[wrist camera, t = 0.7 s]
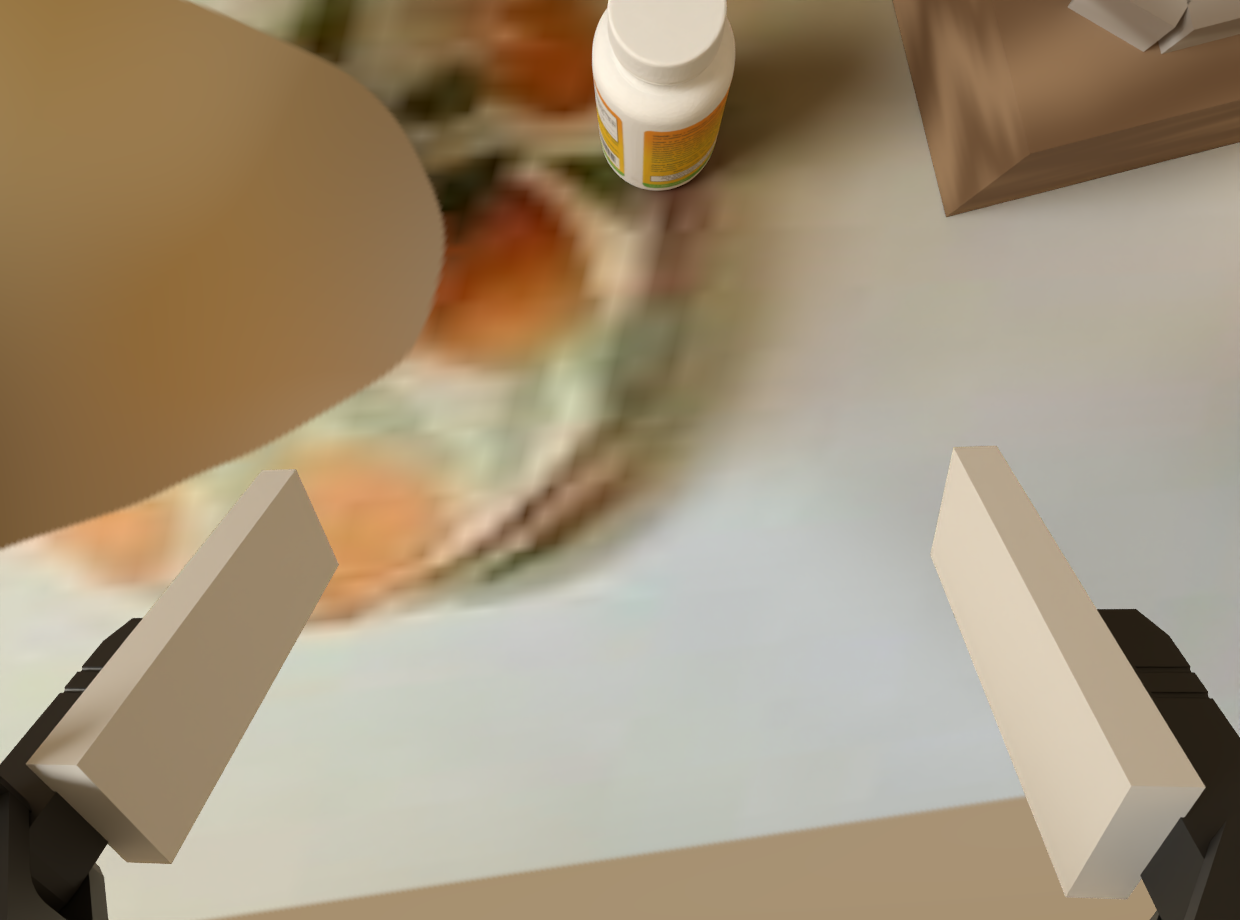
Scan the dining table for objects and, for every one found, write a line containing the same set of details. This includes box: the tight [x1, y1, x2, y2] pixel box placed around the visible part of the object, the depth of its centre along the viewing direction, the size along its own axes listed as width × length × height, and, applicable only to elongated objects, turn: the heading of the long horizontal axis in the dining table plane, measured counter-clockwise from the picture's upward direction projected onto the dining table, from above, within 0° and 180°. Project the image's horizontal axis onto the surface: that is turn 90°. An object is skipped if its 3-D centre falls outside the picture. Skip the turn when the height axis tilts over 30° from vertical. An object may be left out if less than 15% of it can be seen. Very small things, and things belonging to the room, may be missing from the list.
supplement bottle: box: [592, 0, 735, 191], centre depth 28 cm, size 5×5×10 cm
